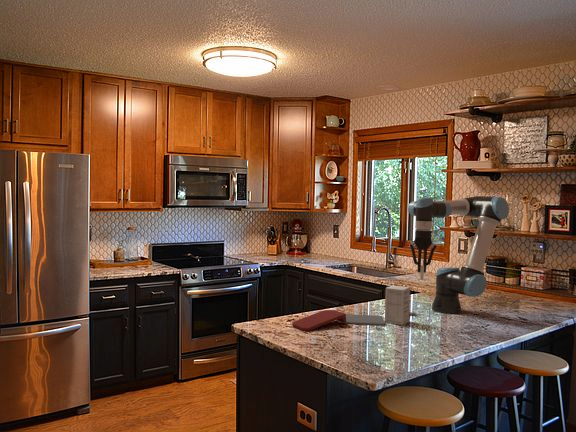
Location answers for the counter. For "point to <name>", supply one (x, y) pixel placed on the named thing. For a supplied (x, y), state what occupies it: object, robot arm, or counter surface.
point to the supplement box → (397, 305)
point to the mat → (364, 319)
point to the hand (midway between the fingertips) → (421, 279)
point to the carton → (319, 319)
